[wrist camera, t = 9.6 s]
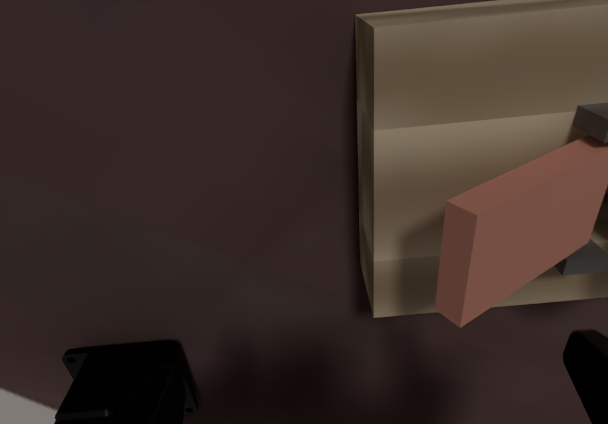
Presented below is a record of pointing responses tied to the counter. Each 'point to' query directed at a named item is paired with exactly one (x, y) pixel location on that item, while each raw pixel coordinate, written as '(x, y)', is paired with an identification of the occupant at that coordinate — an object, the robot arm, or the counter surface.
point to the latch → (518, 227)
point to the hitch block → (470, 131)
